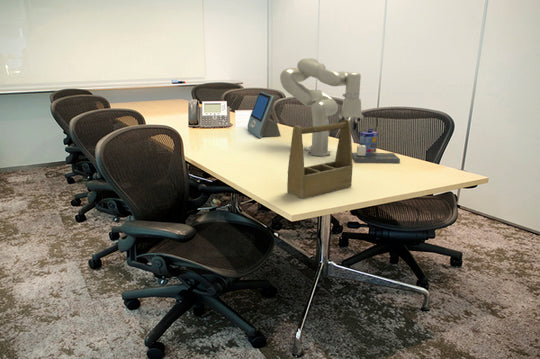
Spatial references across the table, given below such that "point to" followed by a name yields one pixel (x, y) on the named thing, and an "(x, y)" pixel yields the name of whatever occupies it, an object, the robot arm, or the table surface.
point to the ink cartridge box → (369, 140)
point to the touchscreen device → (263, 117)
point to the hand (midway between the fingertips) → (350, 129)
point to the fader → (361, 150)
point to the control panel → (376, 158)
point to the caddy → (322, 175)
